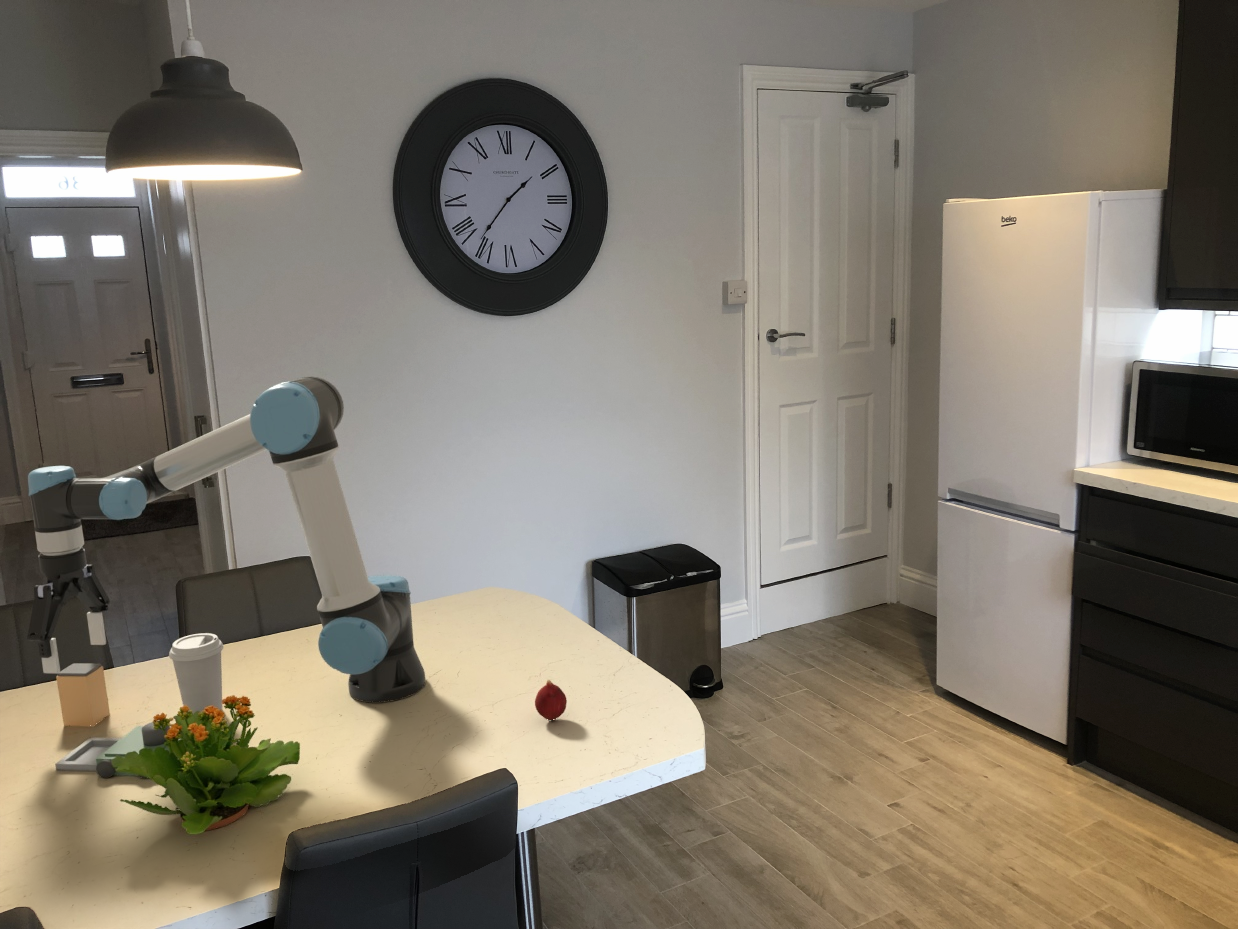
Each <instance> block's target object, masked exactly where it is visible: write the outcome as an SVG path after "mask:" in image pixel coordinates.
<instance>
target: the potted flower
mask: <svg viewBox="0 0 1238 929" xmlns="http://www.w3.org/2000/svg"><path fill="white" fill-rule="evenodd" d="M222 705H223V707H224V709H228V710H229V709H230V710H229V712H230V713H229V714H230V715H231V718H232V721H231V722H230V724H229V725H228V723H227V719H224V718H225V711H223V709H222V710H219V709H218V707H216V708H215V707H214V706H208V707H206V708H204V709H205V710H203V711H202V712H200V711H196V712H194V714H193V713H192V710H190V711H189V709H190V708H189V707H188V706H187V705H184V707H183V706H180V707H179V708H178V709H179V710H178V711H177V713H176V715H174V716H173V717H169V718H167V715H168V714H165V713H164V712H161V714H155V715H154V716H153V720H152V722H153V724H154V727H153V728H154V730H158V729H161V730H163V732H164V734H165V736H164V738H166V739H167V742H165V743H164V744H165V745H164V746H167V747H168V748H169V750H170V751H168V750H165V748H162V747H156V748H155V750H154V752H153V751H152V749H151V748H149V749H147V748H143V749H140V750H139V754H138V753H137V752H136V751H133V752H128V753H127V754H125V757H124V758H123V757H121V756H118V755H116V756H115V758H113V759H112V760H111V763H112V766H113V768H116V767H117V770H116V769H115V770H116V771H117V772H126V773H133V774H138V775H141V776H144V777H147V778H148V779H150V780H151V781H153V782H154V783H155V784H157V785H158V786H161V787H162V788H164V789H165V791H164V793H163V794H160V795H159V794H155V796H158V797H160V798H163V799H165V798H167V797H169V798H170V799H171V801H172V802H173V804H174V805H175V806H176V807H175V808H174V810H173V809H170V808H169V807H167V806H164V807H163V806H162V805H159V804H158V803H155V804H153V803H152V802H151V801H147V802H145V801H141V800H138V801H136V800H133V799H132V800H129V799H122V798H121V799H120V800H119V802H123V803H126V804H129V805H130V806H133V807H135V808H139V809H141V810H142V811H143V810H144V811H146V812H148V813H151V814H156V815H161V816H172V815H173V816H174V815H179V817H180V819H181V821H182V823H181V827H182V828H183V829H185V832H186V833H187V834H189V835H199V834H202V833H204V832H205V831H209V830H217V829H218V828H222V827H225V826H228V825H229V824H232V823H234V822H235V821H237V820H239V819H240V818H242V817H243V816H244V815H246V813H247V811H248V810H249V809H248V808H249V806H250V807H254V808H260V807H261V806H267V805H268V804H270V802H274V801H276V800H278V799H279V796H281V795H283V794H284V791H285V790H286V789H287V788H288V786H289V785H290V783H291V781H292V776H290V775H288V774H286V773H283V774H282V773H281V774H280V775H279V774H278V773H275V774H273V775H272V774H271V773H272V772H273V771H275V770H276V769H278V768H279V767H283V766H289V765H298V764H299V761H300V756H301V755H300V754H301V752H300V750H301V743H300V742H298V741H293V740H290V741H288V742H284V741H283V740H277V741H276V742H271V740H272V738H270V737H269V738H267V739H262V740H261V741H260V742H259V743H258V746H250V745H249V744H250V741H251V740H252V739H253V736H254V735H255V733H256V732H257V730H258V729H259V727H258V726H257V727H254V728H253V730H252V729H251V728H252V727H251V726H252V721H251V720H250V719H253V718H254V717H255V716H256V714H255V713H254V711H253V710H251V706H252V702H251V698H249V696H244V695H242V696H241V697H237V696H235V695H230V696H229V695H228V696H226V697H225V698H222ZM188 711H189V712H188ZM172 721H175V723H171V722H172ZM239 725H241V726H242V730H241V734H240V737H239V738H235V736H236V732H237V729H238V727H239ZM161 726H162V728H161ZM167 726H171V727H170V729H169V730H168V731H167V734H166V732H165V730H164V729H165V728H166V727H167ZM249 727H250V728H249ZM247 728H248V730H247ZM251 730H252V731H251ZM234 738H235V739H234ZM178 739H180V740H178ZM177 758H178V759H177Z"/></svg>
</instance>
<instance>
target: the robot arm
mask: <svg viewBox="0 0 1238 929" xmlns="http://www.w3.org/2000/svg"><path fill="white" fill-rule="evenodd" d="M344 410H345V405H344V400H343V397H342V395H341V393H340V391H339V390H338V388H337V387H336V386H335V385H334V384H332V383H331V382H330V381H328V380H327V379H324V378H321V377H319V376H318V377H317V376H304V377H300V378H299V377H298V378H297V379H294V380H289V381H285V382H280V383H277V384H273V385H272V386H270V387H269V388H268V389H266V390H264V391H263V392H262V393H260V395H258V397H257V398H256V400H255V401H254V403H253V404H252V408H251V411H250V413H249V414H247V415H244V416H243V417H240V418H239V419H236V420H234V421H232V422H230V423H227V424H225V425H223V426H221V427H218V428H216V429H214V430H212V431H210V432H208V433H205V434H203V435H201V436H199V437H197V438H195V439H193V440H189V441H187V442H186V443H183V444H182V445H179V446H177V447H175V448H173V449H171V450H168V451H166V452H164V453H162V454H159V455H157V456H155V457H152V458H150V459H149V460H148V459H147V460H146V461H144V462H142V463H139V464H137V465H135V466H132V467H129V468H127V469H125V470H121V471H118V472H116V473H113V474H110V475H107V476H104V477H95V478H93V477H92V478H87V477H86V478H83V477H82V478H80V477H77V475H76V473H75V470H74V468H73V467H71V466H66V465H55V466H54V465H52V466H44V467H39V468H36V469H34V470H32V471H30V472H29V473H28V475H27V482H28V497H29V501H30V507H31V512H32V517H33V518H32V519H33V525H34V526H33V527H34V533H35V534H34V535H35V541H36V549H37V551H38V552H39V554H38V563H39V564H38V565H39V571H40V573H41V574H43V575H44V576H45V577H46V582H45V584H43V585H41V584H40V585H39V584H38V585H37V584H36V585H34V587H33V595H34V597H33V598H34V600H33V604H32V605H33V606H32V609H31V614H30V615H31V616H30V621H29V625H28V632H27V636H26V638H27V641H28V642H37V644H38V653H39V656H40V658H41V663H42V665H41V666H42V671H43V672H42V673H43V674H58V673H59V672H60V671H61V666H60V661H59V660H60V659H59V653H58V652H59V651H58V647H57V646H58V645H57V640H56V637H53V635H54V633H55V632H54V631H55V629H56V627H57V624H58V621H59V617H60V616H61V612H62V608H63V607H64V606H65V605H66V604H67V602H68V601H69V600H71V599H72V598H73V597H76V598H77V599H78V600H79V601H80V602H81V603H82V604H83V605H84V606H85V607H86V608H87V609H88V610H89V611H88V612H87V613H86V619H87V624H88V626H87V627H88V633H89V640H90V645H91V646H92V645H93V646H104V645H106V644H107V639H106V631H105V618H104V612H106V611H109V604H110V602H111V601H110V598H109V596H108V594H107V593H106V591H105V589H104V587H103V586H102V583H101V581H100V580H99V578H98V576H97V574H96V569H95V566H94V564H87V556H86V550H85V548H84V547H83V546H84V545H85V538H84V532H83V526H82V520H114V521H115V520H116V521H122V520H124V519H125V520H126V519H135V518H138V517H140V516H141V515H142V512H143V511H144V510H145V508H146V506H147V504H149V503H152V502H154V501H157V500H159V499H162V498H164V497H166V496H167V495H169V494H172V493H174V492H176V491H178V490H180V489H182V488H184V487H187V486H189V485H191V484H194V483H195V482H198V481H200V480H201V481H202V479H205V478H207V477H209V476H211V475H214V474H216V473H218V472H221V471H223V470H225V469H227V468H229V467H232V466H234V465H236V464H239V463H240V462H243V461H245V460H247V459H250V458H252V457H254V456H257V455H260V454H261V453H264V452H266V451H268V452H269V455H270V458H271V459H270V460H271V462H272V465H273V466H275V468H278V469H280V470H282V471H283V472H284V473H285V476H286V479H287V483H288V487H289V489H290V492H291V496H292V500H293V503H294V506H295V510H296V513H297V516H298V520H299V523H300V526H301V527H300V528H301V529H302V533H303V536H304V540H305V544H306V546H307V549H308V552H309V556H310V560H311V562H312V567H313V569H314V572H315V576H316V580H317V583H318V586H319V589H320V592H321V598H320V600H319V602H318V604H317V605H316V610H317V613H318V616H319V620H320V622H321V623H320V624H321V626H322V629H321V632H320V633H319V636H318V643H317V644H318V652H319V654H320V655H321V656H320V657H321V658H322V659H323V661H324V663H326V664H327V665H328V666H329V667H330V668H331V669H334V670H336V671H337V672H340V673H342V674H346V675H349V677H348V683H347V684H348V693H349V695H350V697H352V698H353V699H355V700H357V701H361V702H366V703H387V702H388V703H389V702H394V701H398V700H402V699H405V698H409V697H410V696H413V695H415V694H417V693H419V692H420V691H422V689H423V688H424V687H425V686H426V685H425V684H426V673H425V672H426V671H425V669H424V667H423V664H422V662H421V661H420V657H419V656H418V654H417V651H416V649H415V644H414V643H415V642H414V632H413V620H412V619H413V617H412V607H411V604H412V603H411V593H412V592H411V590H410V585H409V581H408V579H407V578H405V577H403V576H401V575H395V574H394V575H393V574H385V575H384V574H383V575H381V574H380V575H371V576H368V574H367V569H366V567H365V564H364V563H365V562H364V561H363V560H364V559H363V557H362V554H361V549H360V547H359V543H358V540H357V539H358V538H357V536H356V532H355V530H354V526H353V522H352V519H351V515H350V512H349V509H348V508H349V507H348V504H347V502H346V499H345V498H346V497H345V496H344V491H343V489H342V488H343V487H342V485H341V484H342V483H341V480H340V477H339V475H338V471H337V468H336V464H335V460H334V457H335V455H336V454H337V452H338V450H339V447H340V446H339V443H338V439H337V437H336V433H335V430H336V429H337V428H338V426H339V425H340V424H341V421H342V419H343V417H344V413H345V411H344Z"/></svg>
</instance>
